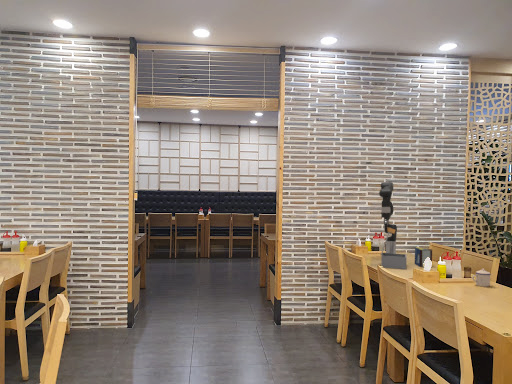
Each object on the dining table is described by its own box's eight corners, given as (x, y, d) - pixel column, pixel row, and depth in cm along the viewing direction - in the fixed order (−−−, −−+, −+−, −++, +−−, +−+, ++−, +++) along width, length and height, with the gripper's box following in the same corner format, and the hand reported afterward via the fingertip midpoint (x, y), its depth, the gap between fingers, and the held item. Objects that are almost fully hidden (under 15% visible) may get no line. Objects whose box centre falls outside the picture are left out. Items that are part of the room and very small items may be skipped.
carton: (382, 263, 358) (382, 252, 358) (406, 265, 351) (406, 254, 351) (381, 267, 341) (381, 255, 341) (406, 269, 334) (406, 257, 334)
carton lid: (387, 254, 356) (377, 250, 359) (395, 229, 354) (386, 225, 357) (386, 257, 339) (376, 253, 342) (395, 230, 337) (385, 227, 340)
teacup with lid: (485, 283, 287) (485, 267, 287) (493, 287, 278) (493, 270, 278) (468, 283, 287) (469, 267, 287) (475, 286, 278) (476, 269, 278)
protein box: (426, 264, 361) (426, 247, 360) (432, 267, 345) (432, 249, 345) (414, 263, 362) (414, 246, 361) (419, 267, 346) (420, 249, 346)
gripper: (381, 211, 356) (381, 231, 356) (381, 212, 343) (381, 232, 343) (390, 211, 353) (390, 231, 353) (390, 212, 341) (390, 232, 340)
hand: (386, 232), depth 348 cm, fingers closed
